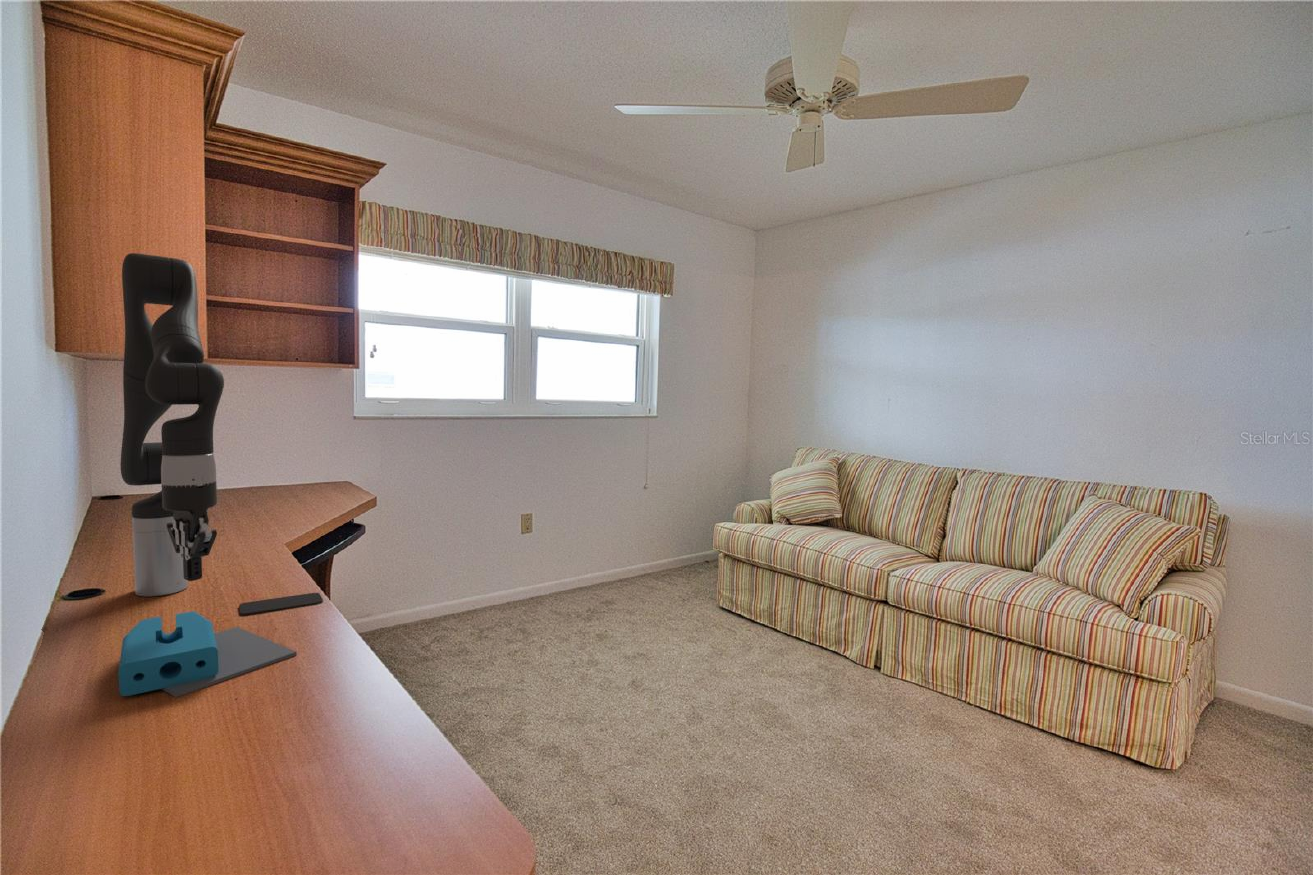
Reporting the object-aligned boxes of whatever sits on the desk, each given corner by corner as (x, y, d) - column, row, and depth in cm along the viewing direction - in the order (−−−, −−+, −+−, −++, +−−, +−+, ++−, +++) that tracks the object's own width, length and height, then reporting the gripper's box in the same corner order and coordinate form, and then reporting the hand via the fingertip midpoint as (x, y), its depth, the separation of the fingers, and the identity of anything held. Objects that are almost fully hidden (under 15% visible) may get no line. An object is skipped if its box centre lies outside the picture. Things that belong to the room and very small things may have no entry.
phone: (323, 601, 134) (240, 614, 126) (323, 605, 135) (240, 618, 126) (318, 591, 140) (238, 603, 132) (318, 595, 141) (238, 607, 132)
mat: (119, 664, 104) (119, 661, 104) (237, 629, 119) (237, 626, 119) (175, 697, 94) (175, 693, 94) (296, 654, 109) (296, 651, 109)
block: (125, 650, 108) (119, 697, 92) (124, 622, 107) (118, 665, 92) (210, 634, 115) (218, 675, 100) (209, 608, 115) (217, 645, 99)
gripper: (145, 479, 107) (150, 578, 108) (182, 487, 100) (186, 592, 101) (195, 474, 113) (199, 567, 115) (233, 481, 106) (236, 580, 108)
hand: (193, 579), depth 108 cm, fingers closed
